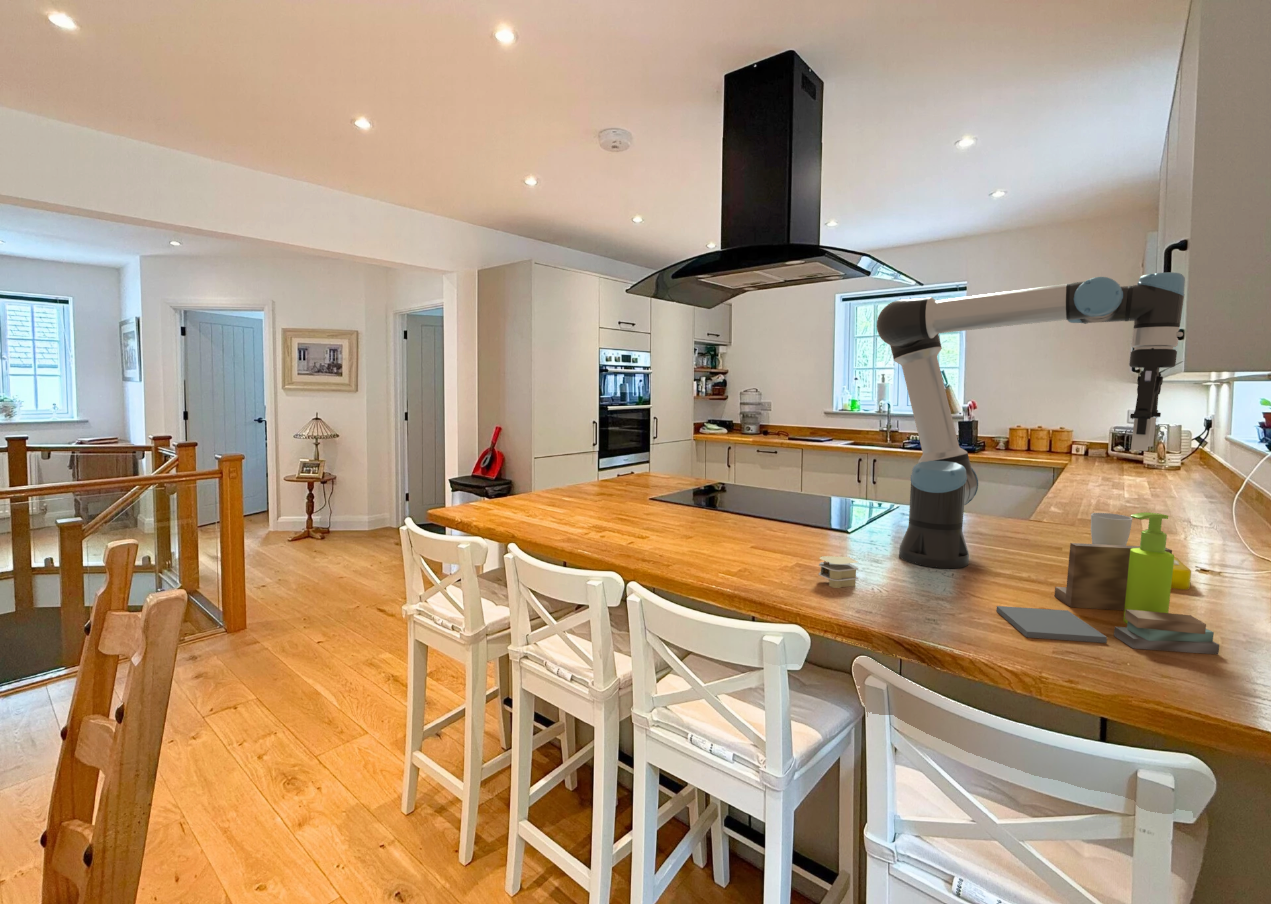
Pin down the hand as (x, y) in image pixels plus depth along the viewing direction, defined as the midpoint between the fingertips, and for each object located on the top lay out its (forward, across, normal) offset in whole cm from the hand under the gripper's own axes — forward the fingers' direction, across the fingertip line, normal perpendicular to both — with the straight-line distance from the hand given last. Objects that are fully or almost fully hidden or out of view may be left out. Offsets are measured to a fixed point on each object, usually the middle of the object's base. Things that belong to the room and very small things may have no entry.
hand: (1142, 448), depth 131 cm
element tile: (+29, +4, -2) cm, 30 cm away
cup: (+29, +19, +5) cm, 35 cm away
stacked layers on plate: (+30, -50, +44) cm, 73 cm away
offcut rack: (+29, -33, -5) cm, 44 cm away
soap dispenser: (+29, -33, -5) cm, 44 cm away
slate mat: (+29, -46, +7) cm, 55 cm away
